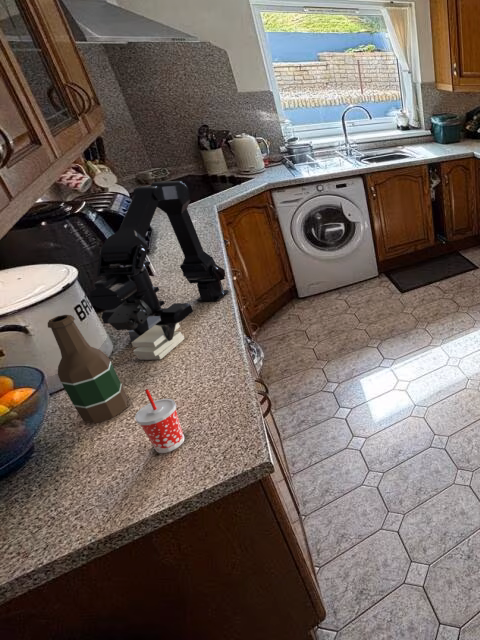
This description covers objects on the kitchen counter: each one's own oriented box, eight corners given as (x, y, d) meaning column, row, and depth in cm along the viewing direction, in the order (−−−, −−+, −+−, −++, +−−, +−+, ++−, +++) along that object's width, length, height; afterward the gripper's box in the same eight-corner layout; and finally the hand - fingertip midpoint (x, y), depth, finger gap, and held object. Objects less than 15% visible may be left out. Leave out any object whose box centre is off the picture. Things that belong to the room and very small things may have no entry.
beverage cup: (180, 453, 81) (155, 399, 75) (144, 458, 79) (116, 403, 74) (194, 429, 86) (173, 376, 80) (161, 433, 85) (137, 380, 79)
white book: (159, 326, 112) (157, 322, 112) (180, 326, 113) (178, 322, 112) (133, 347, 104) (131, 342, 104) (155, 347, 104) (153, 342, 104)
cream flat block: (162, 338, 114) (159, 330, 113) (185, 338, 114) (182, 330, 113) (135, 360, 105) (131, 352, 104) (159, 360, 106) (156, 351, 104)
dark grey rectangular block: (160, 319, 123) (156, 309, 121) (175, 319, 123) (172, 309, 122) (129, 341, 113) (125, 331, 111) (146, 341, 113) (142, 331, 112)
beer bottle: (89, 430, 85) (36, 334, 75) (76, 414, 89) (24, 321, 79) (136, 406, 91) (92, 315, 81) (122, 393, 95) (79, 304, 85)
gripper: (68, 305, 95) (95, 359, 101) (151, 305, 95) (173, 359, 102) (110, 282, 105) (132, 333, 111) (185, 283, 106) (202, 333, 112)
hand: (159, 340), depth 109 cm, fingers closed on white book, 5 cm apart
